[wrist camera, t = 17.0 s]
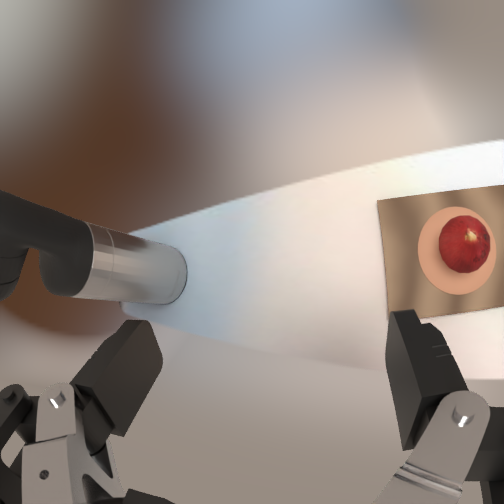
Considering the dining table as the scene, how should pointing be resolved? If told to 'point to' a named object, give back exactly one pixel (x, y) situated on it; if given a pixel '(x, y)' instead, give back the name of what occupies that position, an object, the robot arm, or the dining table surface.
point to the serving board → (428, 255)
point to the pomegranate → (464, 244)
